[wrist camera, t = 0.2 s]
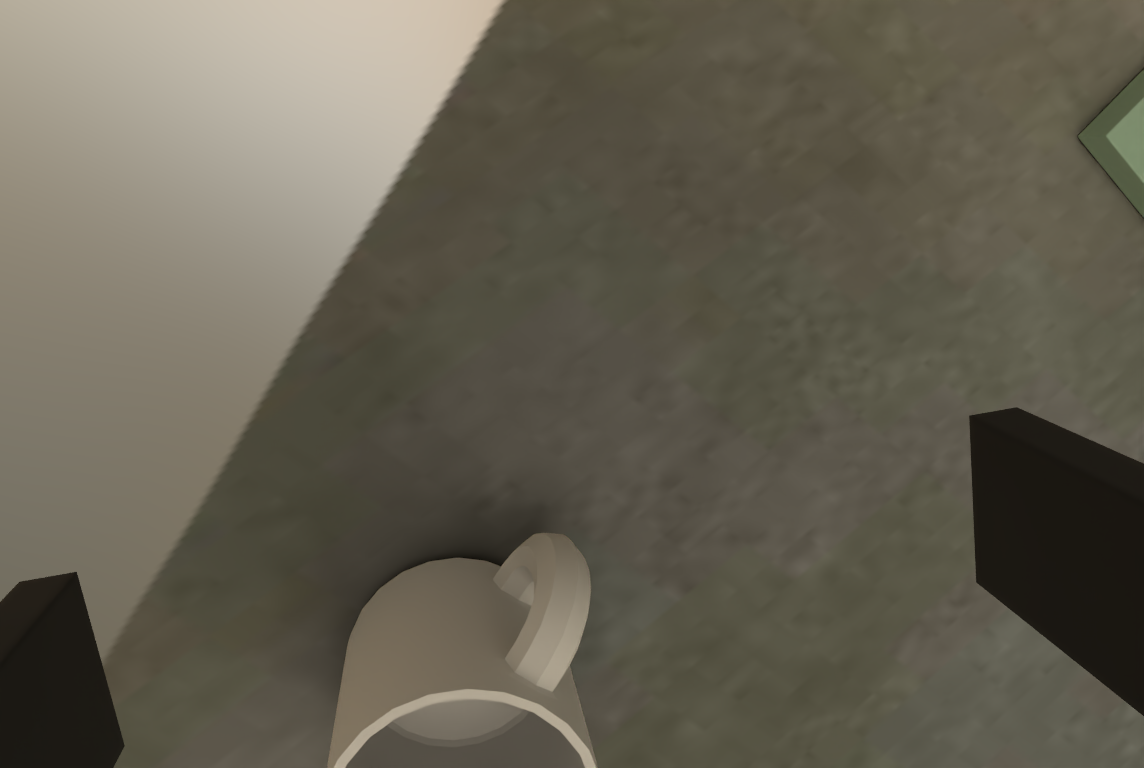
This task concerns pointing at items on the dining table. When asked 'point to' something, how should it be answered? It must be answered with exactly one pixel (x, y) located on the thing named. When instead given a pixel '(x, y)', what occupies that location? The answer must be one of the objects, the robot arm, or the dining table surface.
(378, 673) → the cup
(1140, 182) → the coffee maker
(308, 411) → the dining table surface
